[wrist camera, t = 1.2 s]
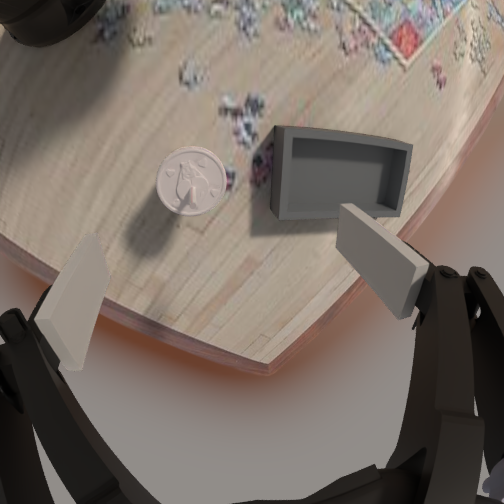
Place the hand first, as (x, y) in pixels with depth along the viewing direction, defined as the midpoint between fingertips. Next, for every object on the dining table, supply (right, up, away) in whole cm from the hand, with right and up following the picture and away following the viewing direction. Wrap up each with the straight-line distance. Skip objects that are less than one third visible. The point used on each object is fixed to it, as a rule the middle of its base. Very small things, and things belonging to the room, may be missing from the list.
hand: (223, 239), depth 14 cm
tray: (+13, +11, +21) cm, 27 cm away
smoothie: (-6, +10, +18) cm, 21 cm away
